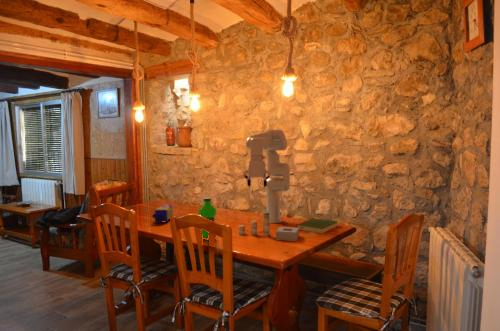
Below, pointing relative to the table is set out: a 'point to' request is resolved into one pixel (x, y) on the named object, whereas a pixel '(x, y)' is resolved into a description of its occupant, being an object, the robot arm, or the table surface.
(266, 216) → the long dowel
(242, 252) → the table surface
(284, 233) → the socket block
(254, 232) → the medium dowel
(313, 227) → the hardcover book
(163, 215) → the toy truck
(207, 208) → the plastic bottle
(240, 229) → the short dowel
